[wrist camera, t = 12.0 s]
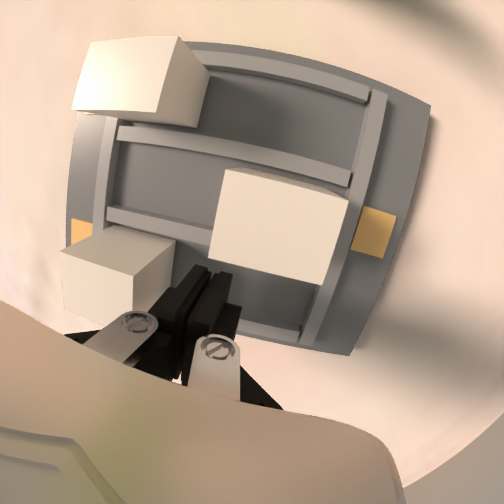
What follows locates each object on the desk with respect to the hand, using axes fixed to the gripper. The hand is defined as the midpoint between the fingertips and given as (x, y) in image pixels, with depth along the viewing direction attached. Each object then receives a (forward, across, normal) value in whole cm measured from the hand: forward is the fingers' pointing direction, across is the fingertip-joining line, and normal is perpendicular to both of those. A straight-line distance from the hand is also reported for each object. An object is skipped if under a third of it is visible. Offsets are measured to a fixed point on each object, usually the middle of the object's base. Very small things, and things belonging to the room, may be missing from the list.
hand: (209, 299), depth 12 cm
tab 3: (+3, -2, -4) cm, 6 cm away
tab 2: (+3, +5, 0) cm, 6 cm away
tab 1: (+3, +5, -9) cm, 10 cm away
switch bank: (+5, +1, -4) cm, 6 cm away
